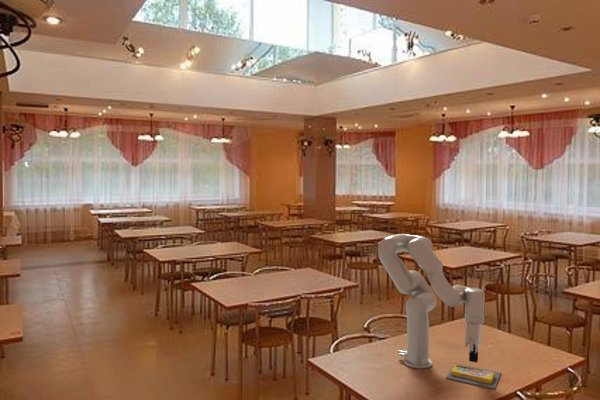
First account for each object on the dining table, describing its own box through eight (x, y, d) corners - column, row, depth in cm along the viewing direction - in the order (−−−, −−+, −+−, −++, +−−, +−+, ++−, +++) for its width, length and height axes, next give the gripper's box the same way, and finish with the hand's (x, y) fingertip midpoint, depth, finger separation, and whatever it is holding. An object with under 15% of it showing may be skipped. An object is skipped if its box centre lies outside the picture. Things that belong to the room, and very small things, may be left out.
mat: (445, 378, 195) (445, 377, 195) (455, 364, 210) (455, 363, 210) (494, 389, 185) (494, 388, 185) (500, 374, 200) (500, 372, 200)
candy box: (495, 371, 196) (491, 379, 189) (495, 376, 196) (491, 384, 189) (455, 363, 204) (450, 370, 197) (455, 367, 204) (450, 375, 197)
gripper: (468, 312, 203) (467, 353, 204) (461, 321, 190) (460, 365, 191) (487, 315, 199) (485, 357, 200) (480, 324, 187) (479, 369, 188)
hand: (473, 361), depth 196 cm, fingers closed
